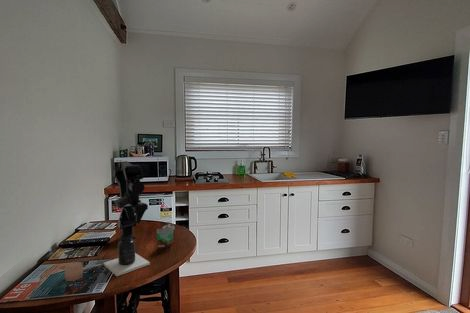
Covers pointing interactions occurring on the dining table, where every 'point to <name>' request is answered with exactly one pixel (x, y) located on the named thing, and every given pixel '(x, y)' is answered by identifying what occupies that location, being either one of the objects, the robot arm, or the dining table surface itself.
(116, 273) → the pad
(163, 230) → the food container
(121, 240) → the supplement bottle
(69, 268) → the tan rounded piece
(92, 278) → the dining table surface
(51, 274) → the dining table surface
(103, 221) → the dining table surface
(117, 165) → the robot arm
